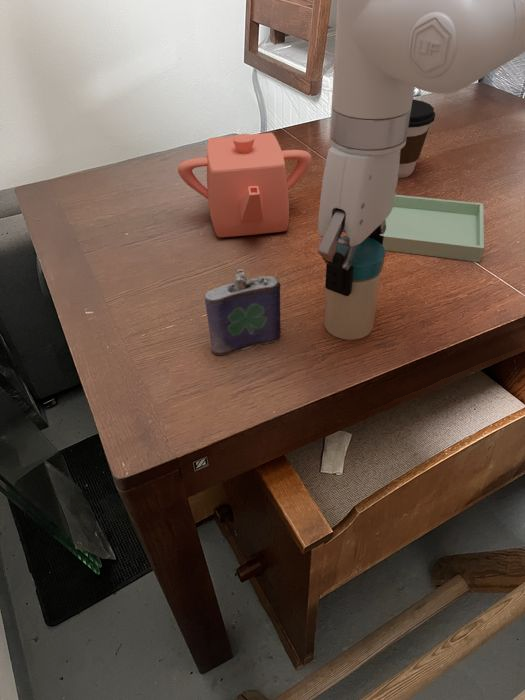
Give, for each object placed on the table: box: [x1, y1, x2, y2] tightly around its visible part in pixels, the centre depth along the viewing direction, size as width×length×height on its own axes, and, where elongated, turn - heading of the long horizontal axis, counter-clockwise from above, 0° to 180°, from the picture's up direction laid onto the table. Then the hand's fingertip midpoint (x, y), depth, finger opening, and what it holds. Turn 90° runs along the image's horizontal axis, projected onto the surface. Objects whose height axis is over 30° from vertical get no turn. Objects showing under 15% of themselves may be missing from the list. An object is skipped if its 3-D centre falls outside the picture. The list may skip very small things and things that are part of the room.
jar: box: [323, 270, 383, 341], centre depth 63 cm, size 7×7×11 cm
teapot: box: [177, 132, 312, 238], centre depth 82 cm, size 20×22×14 cm
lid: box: [325, 235, 386, 280], centre depth 60 cm, size 7×7×2 cm
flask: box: [204, 269, 282, 356], centre depth 61 cm, size 9×3×11 cm, turn 109°
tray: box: [380, 194, 485, 263], centre depth 82 cm, size 19×14×2 cm
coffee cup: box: [398, 98, 436, 179], centre depth 96 cm, size 11×11×12 cm
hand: (353, 274), depth 62 cm, fingers closed on lid, 6 cm apart
